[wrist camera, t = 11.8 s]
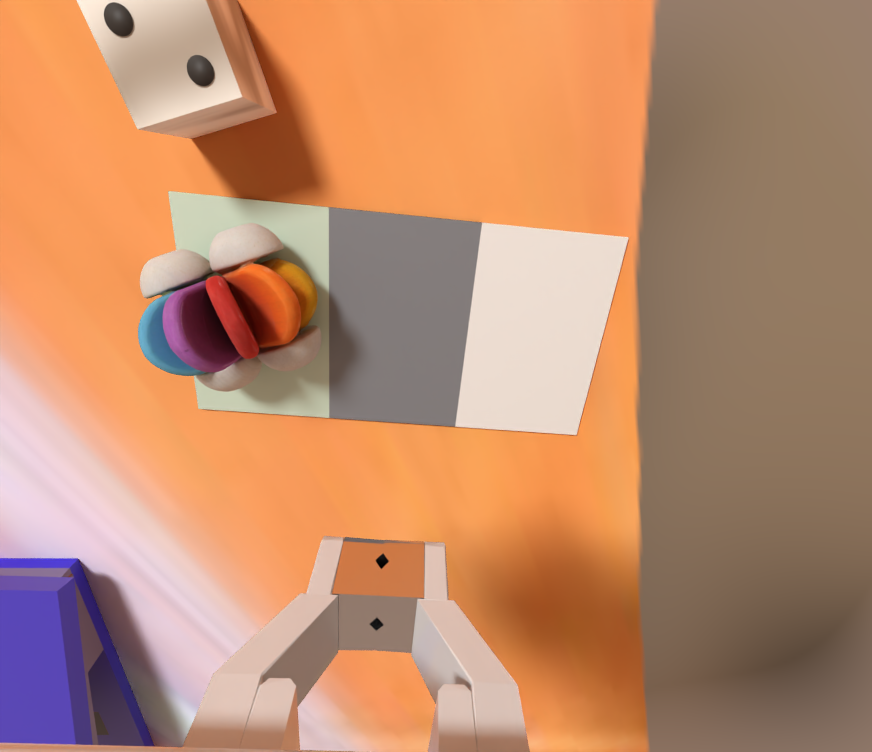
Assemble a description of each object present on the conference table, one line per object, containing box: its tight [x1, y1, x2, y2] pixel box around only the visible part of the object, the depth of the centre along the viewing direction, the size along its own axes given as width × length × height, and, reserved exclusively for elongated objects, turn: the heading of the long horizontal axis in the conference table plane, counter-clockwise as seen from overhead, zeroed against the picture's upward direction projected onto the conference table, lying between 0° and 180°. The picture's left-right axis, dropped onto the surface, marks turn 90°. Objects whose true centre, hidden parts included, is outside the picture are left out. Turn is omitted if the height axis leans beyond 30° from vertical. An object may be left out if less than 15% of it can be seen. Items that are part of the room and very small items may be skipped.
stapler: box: [0, 558, 155, 747], centre depth 37 cm, size 12×28×10 cm, turn 178°
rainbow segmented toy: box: [138, 223, 321, 392], centre depth 24 cm, size 8×10×7 cm
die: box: [77, 0, 277, 139], centre depth 20 cm, size 5×5×5 cm
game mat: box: [168, 191, 628, 435], centre depth 28 cm, size 14×27×1 cm, turn 84°
